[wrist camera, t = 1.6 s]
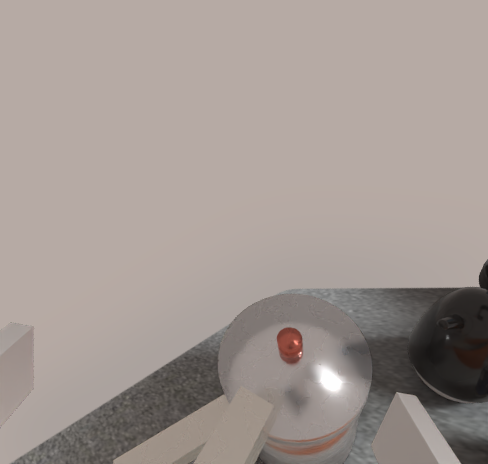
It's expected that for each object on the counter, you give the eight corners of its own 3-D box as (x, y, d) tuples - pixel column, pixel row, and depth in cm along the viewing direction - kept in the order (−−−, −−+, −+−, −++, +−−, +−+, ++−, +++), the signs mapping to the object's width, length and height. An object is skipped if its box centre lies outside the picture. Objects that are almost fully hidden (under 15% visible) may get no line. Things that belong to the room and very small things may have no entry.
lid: (265, 286, 39) (261, 264, 36) (387, 332, 31) (393, 307, 29) (82, 540, 22) (52, 530, 20) (250, 780, 14) (235, 812, 12)
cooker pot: (309, 342, 45) (306, 289, 38) (383, 434, 34) (398, 384, 27) (143, 441, 38) (101, 399, 31) (171, 596, 27) (117, 586, 20)
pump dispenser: (384, 357, 41) (401, 283, 32) (442, 327, 43) (473, 249, 34) (451, 434, 33) (498, 363, 24) (518, 392, 35) (584, 313, 26)
